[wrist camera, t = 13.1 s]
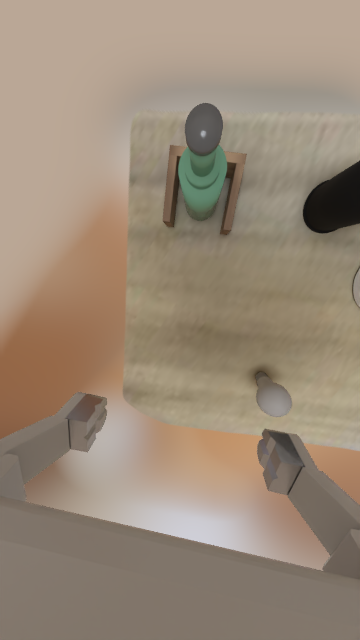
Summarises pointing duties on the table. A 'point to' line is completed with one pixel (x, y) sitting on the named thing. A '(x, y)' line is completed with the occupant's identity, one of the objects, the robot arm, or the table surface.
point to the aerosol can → (334, 202)
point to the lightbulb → (272, 396)
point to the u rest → (233, 171)
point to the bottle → (202, 162)
